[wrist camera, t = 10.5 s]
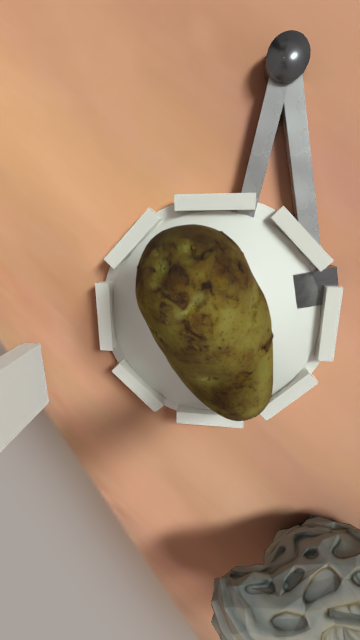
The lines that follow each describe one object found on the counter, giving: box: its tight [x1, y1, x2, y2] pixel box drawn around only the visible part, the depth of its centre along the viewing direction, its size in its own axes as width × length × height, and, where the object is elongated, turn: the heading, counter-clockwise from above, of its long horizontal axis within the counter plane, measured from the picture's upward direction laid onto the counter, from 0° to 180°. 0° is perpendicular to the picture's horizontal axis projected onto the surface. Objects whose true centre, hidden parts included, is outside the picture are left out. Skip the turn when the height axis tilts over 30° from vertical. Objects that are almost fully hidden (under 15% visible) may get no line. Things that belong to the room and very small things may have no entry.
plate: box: [95, 193, 343, 428], centre depth 23 cm, size 17×17×2 cm
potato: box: [135, 224, 274, 421], centre depth 19 cm, size 8×13×8 cm, turn 2°
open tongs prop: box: [236, 30, 338, 309], centre depth 21 cm, size 16×9×1 cm, turn 0°
